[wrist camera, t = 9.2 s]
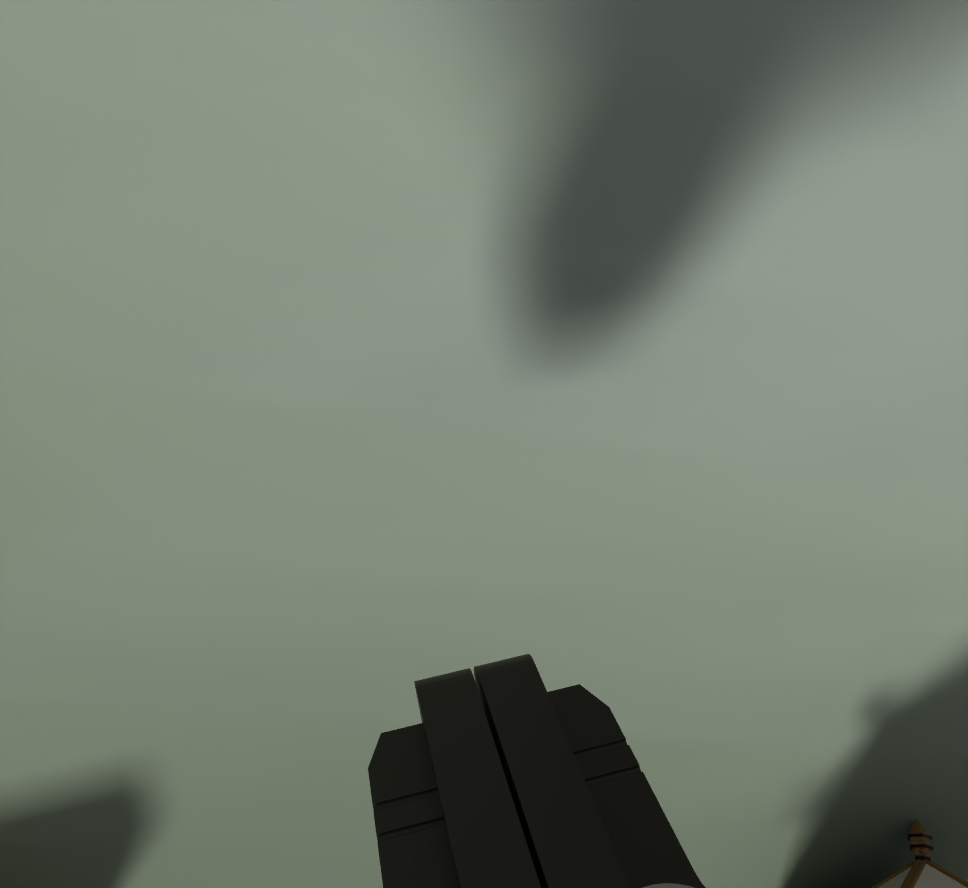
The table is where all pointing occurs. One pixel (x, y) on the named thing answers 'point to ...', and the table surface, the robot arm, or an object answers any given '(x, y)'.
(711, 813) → the table surface
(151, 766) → the table surface
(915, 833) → the game die
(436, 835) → the robot arm
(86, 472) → the table surface
